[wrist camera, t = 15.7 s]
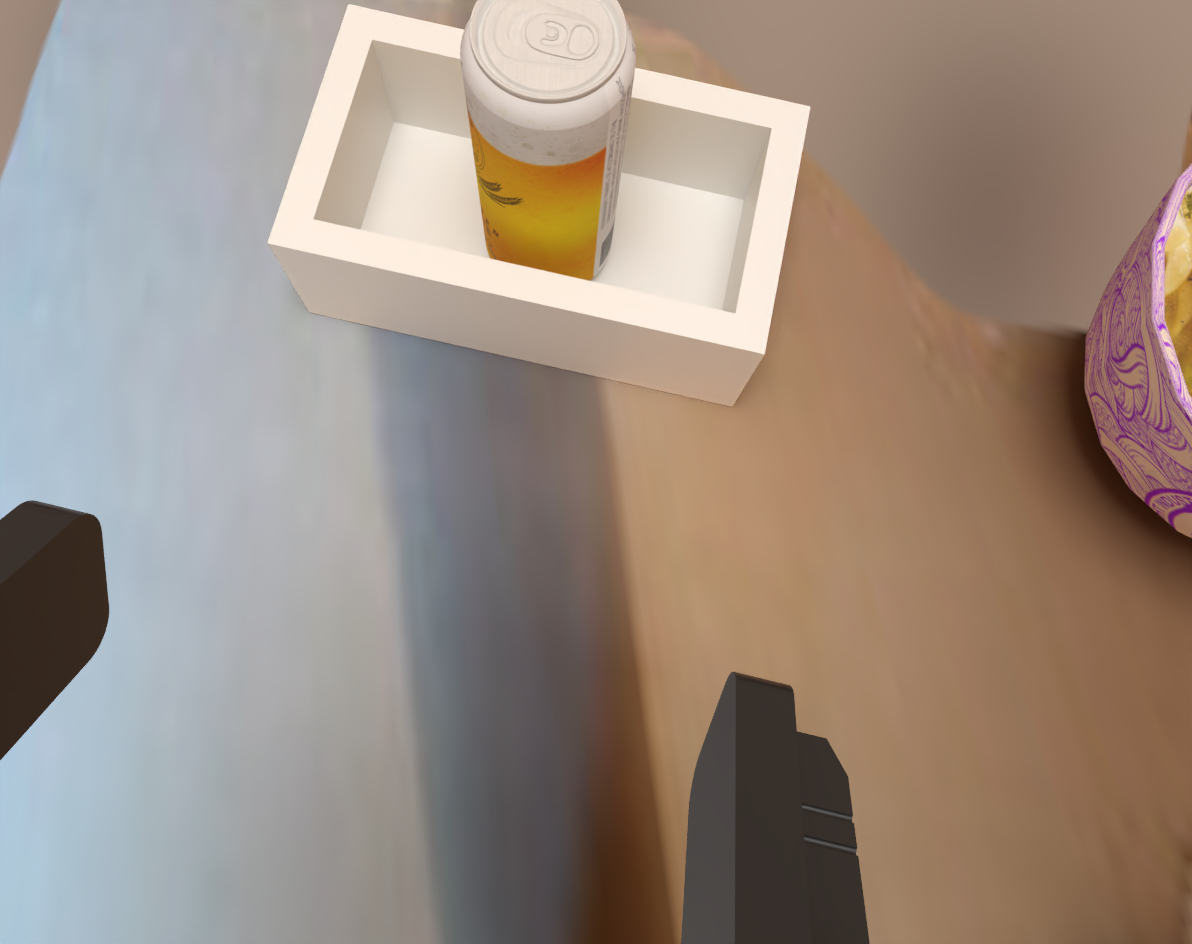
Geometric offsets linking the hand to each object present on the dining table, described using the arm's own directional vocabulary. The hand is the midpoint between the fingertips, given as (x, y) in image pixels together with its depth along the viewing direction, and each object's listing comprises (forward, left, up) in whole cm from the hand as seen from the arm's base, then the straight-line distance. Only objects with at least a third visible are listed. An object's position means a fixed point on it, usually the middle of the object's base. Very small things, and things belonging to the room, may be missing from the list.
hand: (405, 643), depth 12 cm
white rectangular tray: (+3, -21, -31) cm, 38 cm away
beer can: (+3, -21, -30) cm, 37 cm away
